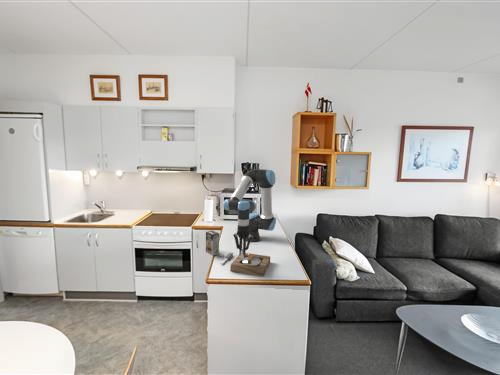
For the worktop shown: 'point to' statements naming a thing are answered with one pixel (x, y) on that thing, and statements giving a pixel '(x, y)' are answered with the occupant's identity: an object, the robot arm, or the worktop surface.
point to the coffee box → (212, 242)
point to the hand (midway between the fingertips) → (242, 259)
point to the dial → (251, 260)
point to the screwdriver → (228, 257)
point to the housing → (251, 269)
